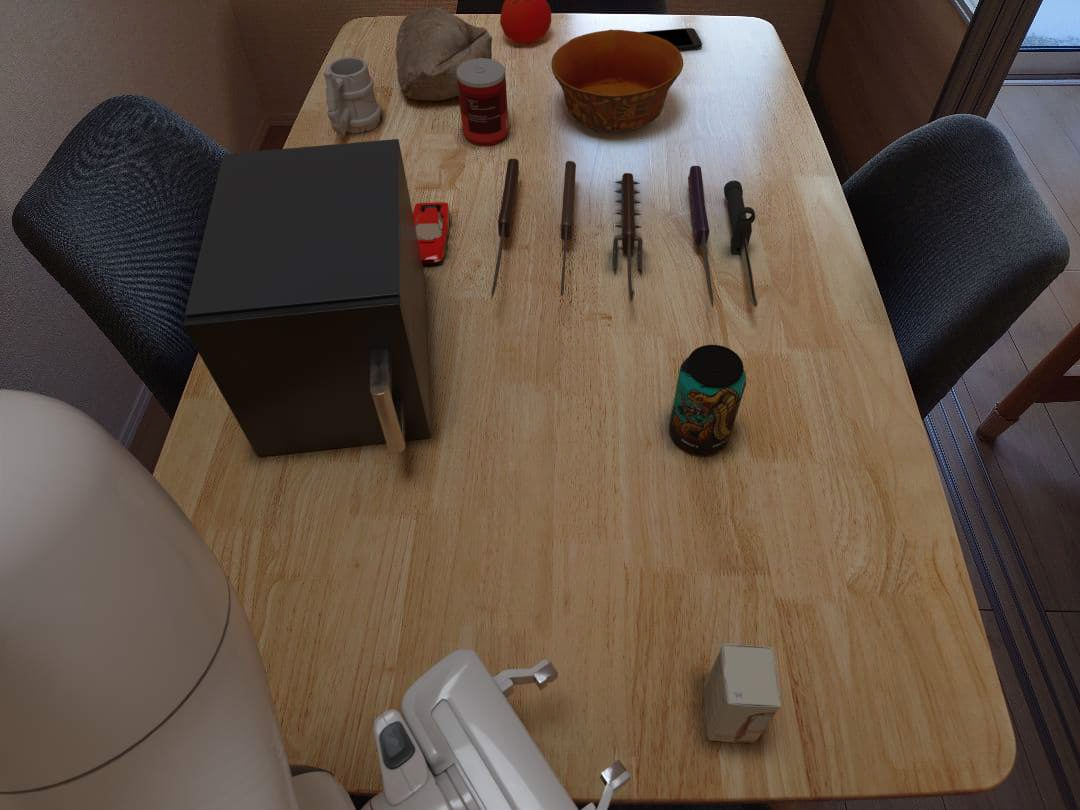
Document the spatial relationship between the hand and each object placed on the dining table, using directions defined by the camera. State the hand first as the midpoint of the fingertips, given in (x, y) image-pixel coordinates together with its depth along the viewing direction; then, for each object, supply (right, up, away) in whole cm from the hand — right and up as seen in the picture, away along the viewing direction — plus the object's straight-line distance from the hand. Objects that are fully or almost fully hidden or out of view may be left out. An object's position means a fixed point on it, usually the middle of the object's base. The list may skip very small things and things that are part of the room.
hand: (587, 716), depth 60 cm
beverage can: (+15, +21, +28) cm, 38 cm away
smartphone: (+19, +93, +84) cm, 127 cm away
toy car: (-20, +49, +51) cm, 73 cm away
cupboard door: (-26, +18, +26) cm, 41 cm away
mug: (-35, +72, +69) cm, 105 cm away
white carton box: (+13, -3, +9) cm, 17 cm away
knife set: (+8, +46, +48) cm, 67 cm away
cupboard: (-28, +31, +37) cm, 55 cm away
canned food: (-13, +70, +67) cm, 98 cm away
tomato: (-7, +95, +87) cm, 129 cm away
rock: (-21, +82, +77) cm, 114 cm away
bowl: (+9, +74, +69) cm, 102 cm away
